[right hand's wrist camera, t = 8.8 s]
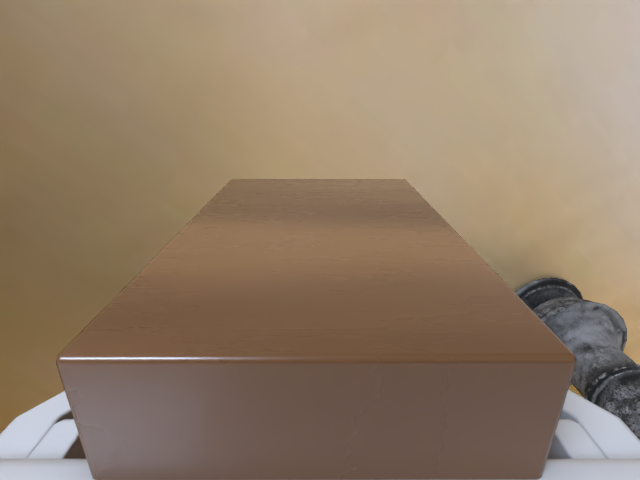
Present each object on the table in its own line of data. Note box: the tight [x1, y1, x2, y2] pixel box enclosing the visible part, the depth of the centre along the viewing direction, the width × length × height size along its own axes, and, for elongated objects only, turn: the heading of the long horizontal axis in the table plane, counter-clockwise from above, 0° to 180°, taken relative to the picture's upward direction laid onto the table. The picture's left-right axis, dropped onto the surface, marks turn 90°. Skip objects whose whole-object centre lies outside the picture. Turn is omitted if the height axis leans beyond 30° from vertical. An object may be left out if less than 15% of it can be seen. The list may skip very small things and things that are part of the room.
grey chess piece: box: [515, 278, 640, 440], centre depth 20 cm, size 6×6×12 cm
